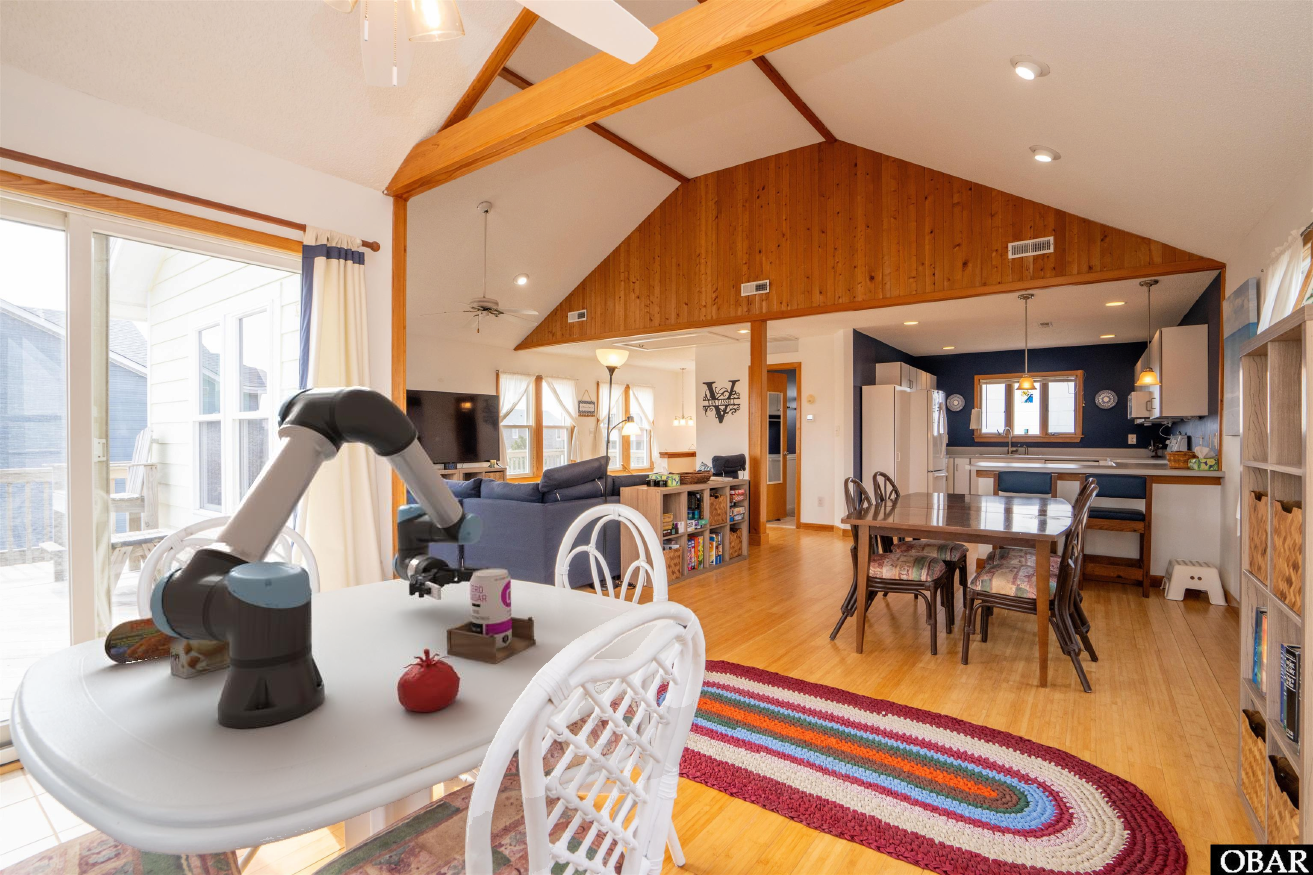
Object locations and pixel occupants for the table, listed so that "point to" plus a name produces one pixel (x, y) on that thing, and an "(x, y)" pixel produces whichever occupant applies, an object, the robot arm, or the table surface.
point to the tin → (136, 641)
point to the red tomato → (428, 684)
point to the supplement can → (491, 604)
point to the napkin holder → (489, 642)
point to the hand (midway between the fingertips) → (469, 587)
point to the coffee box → (197, 656)
